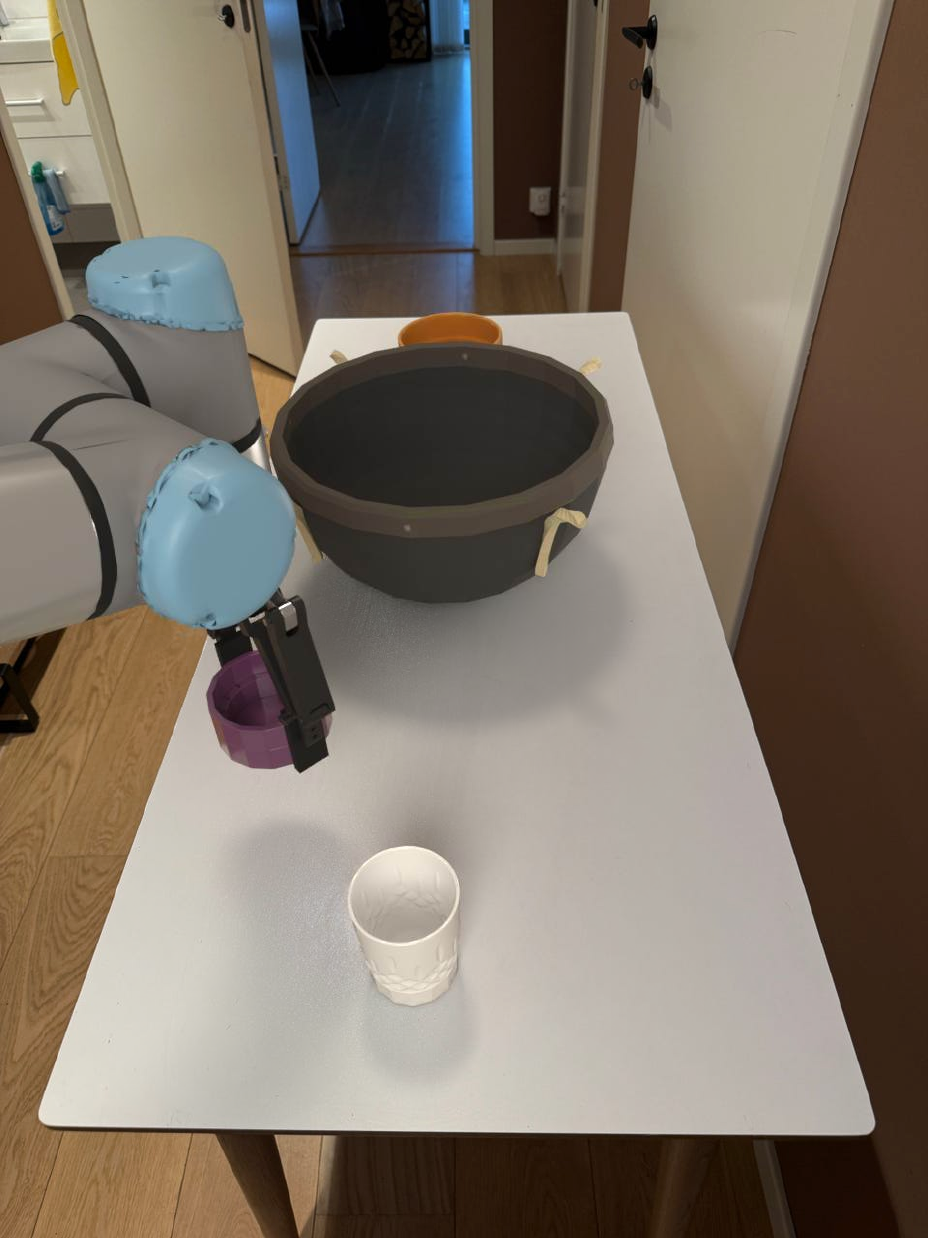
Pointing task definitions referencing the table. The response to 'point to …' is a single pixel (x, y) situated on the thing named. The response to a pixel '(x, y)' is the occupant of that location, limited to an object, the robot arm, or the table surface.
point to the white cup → (407, 922)
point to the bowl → (443, 465)
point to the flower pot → (451, 329)
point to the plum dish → (250, 714)
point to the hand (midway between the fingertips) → (278, 726)
